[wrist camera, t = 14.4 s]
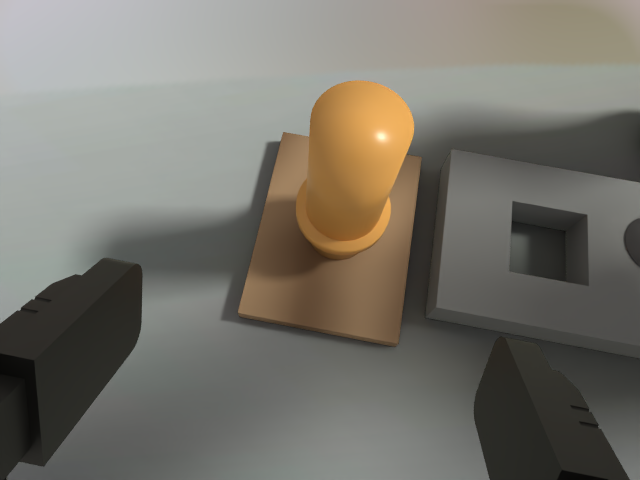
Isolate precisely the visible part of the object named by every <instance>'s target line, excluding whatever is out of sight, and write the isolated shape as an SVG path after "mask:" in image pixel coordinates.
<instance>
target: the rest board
mask: <svg viewBox="0 0 640 480" xmlns="http://www.w3.org/2000/svg"><path fill="white" fill-rule="evenodd" d="M308 153H309V137H308V136H302V135H297V134H291V133H286V132H283V135H282V139H281V143H280V147H279V151H278V155H277V159H276V163H275V167H274V171H273V175H272V179H271V182H270V186H269V190H268V194H267V198H266V202H265V206H264V210H263V214H262V218H261V222H260V226H259V230H258V234H257V238H256V242H255V246H254V250H253V254H252V258H251V262H250V266H249V270H248V274H247V278H246V282H245V286H244V290H243V294H242V298H241V302H240V306H239V310H238V314H239V316H240V317H243V318H249V319H254V320H259V321H264V322H269V323H275V324H280V325H285V326H290V327H295V328H300V329H306V330H311V331H316V332H321V333H326V334H332V335H337V336H342V337H347V338H352V339H357V340H363V341H368V342H373V343H378V344H383V345H388V346H394V347H395V346H397V345H398V344H399V336H400V328H401V320H402V312H403V304H404V296H405V288H406V280H407V271H408V263H409V255H410V247H411V239H412V231H413V223H414V215H415V207H416V199H417V191H418V183H419V175H420V167H421V159H422V157H418V156H413V155H407V154H406V156H405V158H404V161H403V163H402V166H401V168H400V170H399V173H398V175H397V178H396V180H395V183H394V185H393V187H392V190H391V192H390V195H389V198H390V203H391V214H390V219H389V222H388V225H387V227H386V229H385V231H384V233H383V235H382V236H381V238H380V239H379V240H378V241H377V242H376V243H375V244H374V245H373V246H372V247H370V248H369V249H367V250H365V251H363V252H361V253H358V254H357V255H355V256H353V257H351V258H349V259H345V260H333V259H329V258H326V257H324V256H322V255H321V254H319V253H318V252H317V251H316V250H315V249H314V248H313V247H312V245H311V243H310V242H309V241H308V240H307V239H306V238H305V236H304V235H303V233H302V232H301V230H300V228H299V225H298V222H297V218H296V199H297V195H298V191H299V189H300V187H301V185H302V184H303V182H304V181H305V180H306V179H307V170H308Z"/></svg>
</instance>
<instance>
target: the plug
mask: <svg viewBox="0 0 640 480" xmlns="http://www.w3.org/2000/svg"><path fill="white" fill-rule="evenodd" d="M413 134H414V121H413V117H412V114H411V112H410V109H409V108H408V106H407V104H406V103H405V102H404V101H403V99H402V98H401V97H400V96H399V95H398V94H396V93H395V92H394V91H392V90H390V89H389V88H387V87H385V86H383V85H380V84H377V83H374V82H369V81H348V82H344V83H341V84H338V85H336V86H333V87H331V88H330V89H328V90H327V91H326V92H324V93H323V94H322V95H321V96H320V97H319V99H318V100H317V101H316V103H315V105H314V107H313V109H312V113H311V119H310V135H309V153H308V170H307V179H306V180H305V181H304V182H303V184H302V185H301V187H300V189H299V191H298V195H297V199H296V218H297V222H298V225H299V228H300V230H301V232H302V233H303V235H304V236H305V238H306V239H307V240H308V241H309V242H310V243H311V245H312V247H313V248H314V249H315V250H316V251H317V252H318V253H319V254H321V255H322V256H324V257H326V258H329V259H333V260H345V259H349V258H351V257H353V256H355V255H357V254H358V253H361V252H363V251H365V250H367V249H369V248H370V247H372V246H373V245H374V244H375V243H376V242H377V241H378V240H379V239H380V238H381V236H382V235H383V233H384V231H385V229H386V227H387V225H388V222H389V219H390V214H391V203H390V198H389V195H390V192H391V190H392V187H393V185H394V183H395V180H396V178H397V175H398V173H399V170H400V168H401V166H402V163H403V161H404V158H405V156H406V153H407V151H408V149H409V146H410V144H411V141H412V138H413Z"/></svg>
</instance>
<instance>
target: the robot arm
mask: <svg viewBox="0 0 640 480" xmlns="http://www.w3.org/2000/svg"><path fill="white" fill-rule="evenodd" d="M141 317H142V269H141V266H140V265H139V264H135V263H130V262H125V261H120V260H115V259H110V258H103V259H102V260H100V261H99V262H98V263H97V264H95V265H94V266H93V267H92V268H91V269H89V270H88V271H87V272H86V273H84V274H83V275H82V276H81V275H76V274H75V275H73V276H70V277H68V278H65V279H63V280H60V281H58V282H55V283H53V284H51V285H50V286H48V287H47V288H46V289H45V290H43V291H42V292H41V293H39V294H38V295H37V296H36V297H35V299H34V300H33V299H32V300H30V301H29V302H28V303H26V304H25V305H24V306H23V307H21V310H20V311H18V310H17V311H16V312H15V313H14V314H12V315H11V316H10V317H8V318H7V319H6V320H5V321H3V322H2V323H1V324H0V480H8V477H7V476H8V474H9V473H10V472H11V471H12V470H13V468H14V467H15V466H16V465H17V464H18V462H24V463H29V464H34V465H38V466H43V467H44V465H45V464H46V463H47V462H48V460H49V459H50V458H51V456H52V455H53V454H54V452H55V451H56V450H57V448H58V447H59V446H60V445H61V443H62V442H63V441H64V439H65V438H66V437H67V435H68V434H69V433H70V432H71V430H72V429H73V428H74V426H75V425H76V424H77V422H78V421H79V420H80V418H81V417H82V416H83V415H84V413H85V412H86V411H87V409H88V408H89V407H90V405H91V404H92V403H93V401H94V400H95V399H96V398H97V396H98V395H99V394H100V392H101V391H102V390H103V388H104V387H105V386H106V384H107V383H108V382H109V381H110V379H111V378H112V377H113V375H114V374H115V373H116V371H117V370H118V369H119V367H120V366H121V365H122V364H123V362H124V361H125V360H126V358H127V357H128V356H129V354H130V353H131V352H132V350H133V349H134V347H135V345H136V343H137V340H138V337H139V334H140V330H141ZM474 419H475V424H476V428H477V432H478V436H479V439H480V443H481V447H482V451H483V455H484V459H485V463H486V466H487V470H488V474H489V478H490V480H630V479H629V477H628V476H627V474H626V472H625V470H624V469H623V467H622V465H621V464H620V462H619V460H618V458H617V457H616V455H615V453H614V451H613V450H612V448H611V446H610V444H609V443H608V441H607V439H606V437H605V436H604V434H603V432H602V430H601V429H598V423H597V422H596V420H595V418H594V416H593V415H592V413H590V412H589V408H588V406H587V404H586V402H585V401H584V399H583V397H582V395H581V394H580V392H579V390H578V389H577V388H576V387H575V386H574V385H573V384H572V383H571V382H570V381H569V380H568V379H567V378H566V377H564V376H563V375H562V374H561V373H560V372H559V371H555V370H551V368H550V366H549V364H548V362H547V360H546V358H545V357H544V355H543V353H542V351H541V349H540V347H539V346H538V345H537V344H536V343H532V342H527V341H522V340H517V339H512V338H506V337H499V338H498V339H497V341H496V342H495V344H494V347H493V349H492V352H491V355H490V357H489V360H488V363H487V365H486V368H485V371H484V373H483V376H482V379H481V381H480V384H479V387H478V390H477V393H476V396H475V402H474Z"/></svg>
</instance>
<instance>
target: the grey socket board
mask: <svg viewBox="0 0 640 480" xmlns="http://www.w3.org/2000/svg"><path fill="white" fill-rule="evenodd" d="M511 221H514V222H520V223H525V224H530V225H536V226H541V227H547V228H552V229H558V230H563V231H566V282H563V281H558V280H553V279H547V278H542V277H537V276H531V275H526V274H521V273H515V272H510V271H509V267H510V244H511ZM425 318H430V319H436V320H441V321H446V322H451V323H456V324H462V325H467V326H472V327H477V328H483V329H488V330H493V331H498V332H504V333H509V334H514V335H519V336H525V337H530V338H535V339H540V340H545V341H551V342H556V343H561V344H566V345H572V346H577V347H582V348H587V349H593V350H598V351H603V352H608V353H614V354H619V355H624V356H629V357H634V358H640V183H639V182H634V181H628V180H622V179H617V178H611V177H606V176H600V175H595V174H589V173H584V172H578V171H573V170H567V169H562V168H556V167H550V166H545V165H539V164H534V163H528V162H523V161H517V160H512V159H506V158H501V157H495V156H490V155H484V154H478V153H473V152H467V151H462V150H456V149H452V150H451V151H450V153H449V155H448V157H447V159H446V161H445V162H444V164H443V166H442V168H441V172H440V181H439V191H438V200H437V210H436V219H435V228H434V238H433V247H432V256H431V266H430V275H429V285H428V294H427V303H426V313H425Z"/></svg>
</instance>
